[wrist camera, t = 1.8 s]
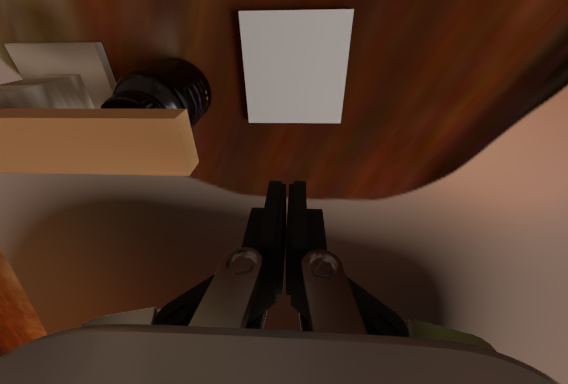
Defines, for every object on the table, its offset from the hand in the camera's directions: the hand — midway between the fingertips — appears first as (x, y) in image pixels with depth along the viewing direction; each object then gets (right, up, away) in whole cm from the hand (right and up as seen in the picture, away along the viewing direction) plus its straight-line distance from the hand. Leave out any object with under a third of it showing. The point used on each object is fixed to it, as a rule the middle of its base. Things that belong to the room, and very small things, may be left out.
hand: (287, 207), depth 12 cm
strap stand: (-25, +13, +18) cm, 34 cm away
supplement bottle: (-12, +13, +18) cm, 25 cm away
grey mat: (+1, +14, +16) cm, 21 cm away
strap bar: (-19, +5, +7) cm, 20 cm away
